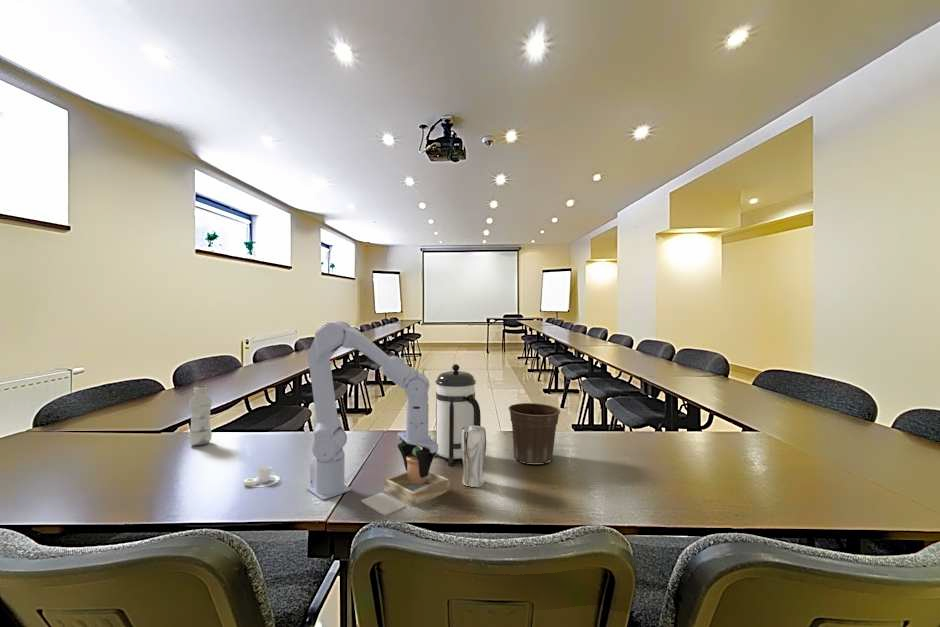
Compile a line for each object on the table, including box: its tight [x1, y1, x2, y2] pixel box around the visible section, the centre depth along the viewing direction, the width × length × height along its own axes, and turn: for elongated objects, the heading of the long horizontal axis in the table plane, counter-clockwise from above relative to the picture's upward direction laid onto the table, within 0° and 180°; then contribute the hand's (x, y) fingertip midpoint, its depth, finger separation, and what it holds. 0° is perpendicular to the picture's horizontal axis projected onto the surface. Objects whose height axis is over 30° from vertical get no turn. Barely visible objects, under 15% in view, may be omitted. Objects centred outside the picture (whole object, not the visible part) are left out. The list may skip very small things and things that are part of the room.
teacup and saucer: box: [242, 465, 281, 488], centre depth 115 cm, size 9×8×4 cm
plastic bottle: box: [188, 385, 213, 446], centre depth 144 cm, size 6×7×20 cm
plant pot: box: [508, 402, 561, 464], centre depth 133 cm, size 16×16×16 cm
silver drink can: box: [461, 425, 487, 487], centre depth 114 cm, size 7×7×15 cm
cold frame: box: [383, 470, 450, 507], centre depth 109 cm, size 12×12×3 cm
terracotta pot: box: [406, 446, 427, 484], centre depth 109 cm, size 6×6×8 cm
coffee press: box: [435, 363, 482, 466], centre depth 133 cm, size 17×16×30 cm
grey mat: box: [360, 492, 406, 517], centre depth 102 cm, size 10×6×1 cm, turn 46°
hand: (416, 473), depth 109 cm, fingers closed on terracotta pot, 5 cm apart
